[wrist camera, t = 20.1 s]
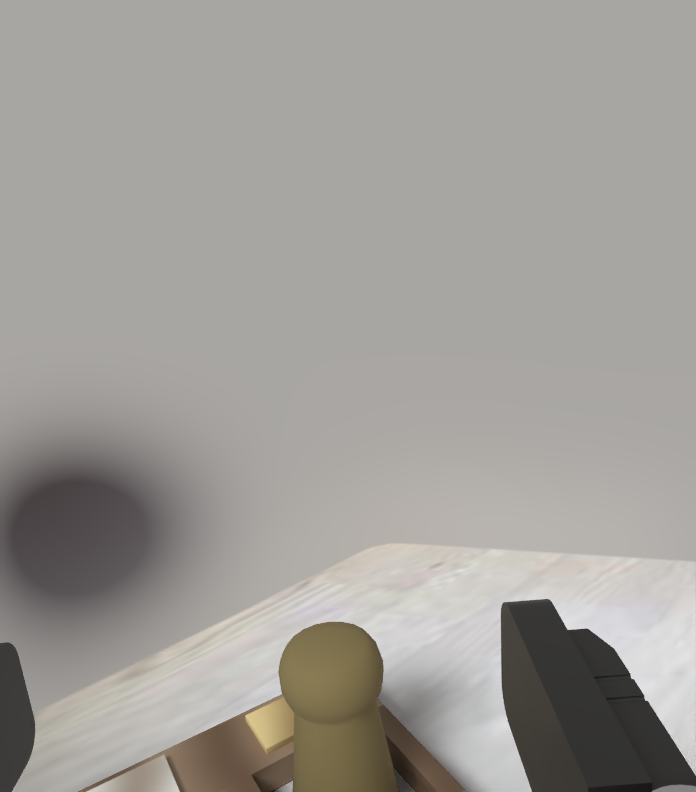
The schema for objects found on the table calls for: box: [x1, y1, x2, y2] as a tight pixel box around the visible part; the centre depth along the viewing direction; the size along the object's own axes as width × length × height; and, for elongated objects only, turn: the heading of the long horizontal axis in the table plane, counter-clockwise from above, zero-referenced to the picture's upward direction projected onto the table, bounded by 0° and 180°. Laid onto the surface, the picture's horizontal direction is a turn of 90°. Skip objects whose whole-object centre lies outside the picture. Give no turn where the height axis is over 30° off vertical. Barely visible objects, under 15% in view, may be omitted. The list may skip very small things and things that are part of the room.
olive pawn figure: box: [279, 622, 400, 792], centre depth 33 cm, size 6×6×11 cm
